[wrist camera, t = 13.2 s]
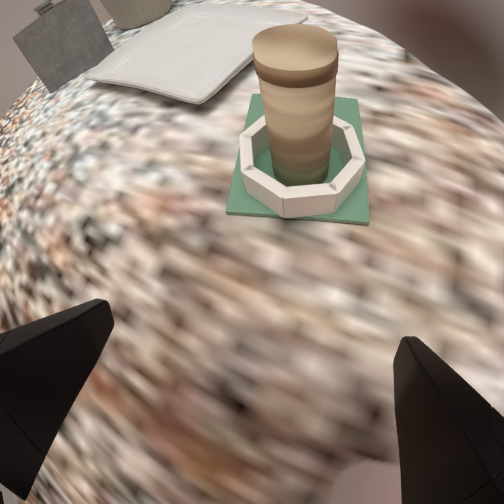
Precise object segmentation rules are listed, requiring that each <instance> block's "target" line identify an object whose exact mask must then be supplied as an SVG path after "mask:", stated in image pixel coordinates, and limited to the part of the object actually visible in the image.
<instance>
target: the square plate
mask: <svg viewBox="0 0 504 504" xmlns="http://www.w3.org/2000/svg"><path fill="white" fill-rule="evenodd" d="M307 19H308V15H306V14H301V13H296V12H291V11H285V10H279V9H273V8H267V7H259V6H249V5H235V4H193V5H186V6H184V7H182V8H180V9H178V10H176V11H174V12H173V13H171V14H169V15H167V16H165V17H163V18H162V19H160V20H158V21H156V22H155V23H153V24H151V25H150V26H148V27H147V28H145V29H144V30H142V31H141V32H139V33H138V34H136V35H135V36H133V37H132V38H131V39H129V40H128V41H126V42H125V43H124V44H122V45H121V46H120V47H118V48H117V49H116V50H115V51H113V52H112V53H111V54H110V55H108V56H107V57H106V58H105V59H104V60H103V61H101V62H100V63H99V64H98V65H97V66H96V67H94V68H93V69H92V70H91V71H90V72H89V73H88V74H87V75H86V76H85V79H87V80H93V81H97V82H102V83H109V84H117V85H123V86H128V87H133V88H138V89H142V90H146V91H150V92H153V93H157V94H160V95H163V96H166V97H169V98H173V99H176V100H180V101H184V102H188V103H193V104H202V103H204V102H205V101H207V100H208V99H209V98H211V97H212V96H213V95H214V94H216V93H217V92H218V91H219V90H220V89H221V88H222V87H223V86H225V85H226V84H227V83H228V82H229V81H230V80H231V79H232V78H233V77H234V76H235V75H236V74H237V73H238V72H239V71H241V70H242V69H243V68H244V67H245V66H246V65H247V64H249V63H250V62H251V61H252V60H253V46H252V40H253V38H254V36H255V35H256V34H258V33H259V32H261V31H263V30H265V29H268V28H271V27H274V26H279V25H286V24H302V23H303V22H304V21H305V20H307Z"/></svg>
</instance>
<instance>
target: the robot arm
mask: <svg viewBox="0 0 504 504" xmlns="http://www.w3.org/2000/svg"><path fill="white" fill-rule="evenodd" d="M113 327H114V319H113V315H112V312H111V308H110V305H109V303H108V301H106V300H103V299H94V300H91V301H88V302H86V303H83V304H80V305H77V306H75V307H72V308H69V309H66V310H64V311H61V312H58V313H55V314H53V315H50V316H47V317H44V318H42V319H39V320H36V321H33V322H31V323H28V324H25V325H23V326H20V327H17V328H14V329H12V330H10V331H6V332H4V333H1V334H0V483H1V484H2V485H4V486H5V487H6V488H8V489H9V490H10V491H11V492H13V493H14V494H15V495H17V496H18V497H20V498H21V499H22V500H24V501H25V500H26V499H27V497H28V495H29V492H30V490H31V488H32V485H33V483H34V481H35V479H36V477H37V474H38V472H39V470H40V468H41V466H42V464H43V462H44V459H45V456H46V455H47V453H48V451H49V449H50V447H51V445H52V443H53V441H54V439H55V437H56V435H57V433H58V431H59V429H60V427H61V425H62V423H63V421H64V420H65V418H66V416H67V414H68V412H69V410H70V408H71V407H72V405H73V403H74V401H75V399H76V398H77V396H78V394H79V392H80V391H81V389H82V387H83V385H84V384H85V382H86V380H87V378H88V377H89V375H90V373H91V372H92V370H93V368H94V366H95V365H96V363H97V361H98V359H99V357H100V355H101V352H102V350H103V348H104V346H105V344H106V342H107V340H108V338H109V336H110V334H111V332H112V330H113ZM393 371H394V399H395V417H396V426H397V435H398V445H399V457H400V471H401V494H402V504H504V417H503V416H502V415H501V414H500V413H499V412H498V411H497V410H496V409H495V408H494V407H492V406H491V405H490V404H489V403H488V402H487V401H486V400H485V399H484V398H483V397H482V396H481V395H480V394H479V393H478V392H477V391H476V390H475V389H474V388H473V387H472V386H470V385H469V384H468V383H467V382H466V381H465V380H464V379H463V378H462V377H461V376H460V375H459V374H458V373H456V372H455V371H454V370H453V369H452V368H451V367H450V366H449V365H448V364H447V363H445V362H444V361H443V360H442V359H441V358H440V357H439V356H438V355H437V354H435V353H434V352H433V351H432V350H431V349H430V348H429V347H428V346H426V345H425V344H424V343H423V342H422V341H421V340H420V339H419V338H417V337H415V336H405V337H403V338H402V339H401V341H400V344H399V347H398V350H397V352H396V355H395V358H394V362H393ZM491 407H492V408H491ZM0 504H4V502H3V496H2V492H1V491H0Z"/></svg>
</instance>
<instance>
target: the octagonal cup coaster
mask: <svg viewBox="0 0 504 504" xmlns="http://www.w3.org/2000/svg"><path fill="white" fill-rule="evenodd" d="M239 138H240V148H239V153H238V157H237V162H236V166H235V171H234V175H233V180H232V184H231V189H230V194H229V198H228V203H227V208H226V214H227V215H244V216H260V217H275V218H290V219H303V220H316V221H328V222H339V223H350V224H361V225H368V224H369V204H368V188H367V175H366V164H365V154H364V144H363V136H362V128H361V121H360V114H359V107H358V101H357V99H352V98H343V97H335V102H334V116H333V129H332V141H331V151H330V161H329V171H328V176H327V178H326V180H325V181H324V182H323V183H322V184H313V185H302V186H291V187H286V186H284V185H283V184H281V183H279V182H278V181H277V180H276V178H275V176H274V173H273V167H272V160H271V153H270V147H269V140H268V134H267V128H266V121H265V115H264V109H263V103H262V97H261V94H252V98H251V102H250V106H249V110H248V114H247V119H246V123H245V127H244V131H243V133H241V134H240V136H239Z"/></svg>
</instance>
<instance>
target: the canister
mask: <svg viewBox="0 0 504 504" xmlns="http://www.w3.org/2000/svg"><path fill="white" fill-rule="evenodd" d="M100 1H101V3H102V4H103V6H104V7H105V9H106V10H107V12H108V13H109V15H110V16H111V18H112V19H113V20H114V22H115V23H116V25H117V26H118V27H120V28H121V29H123V30H129V29H134V28H137V27H140V26H143V25H146V24H148V23H151V22H153V21H155V20H157V19H159V18H160V17H162V16H164V15H165V14H166V13H168V11H169V10H170V7H171V0H100Z"/></svg>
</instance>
